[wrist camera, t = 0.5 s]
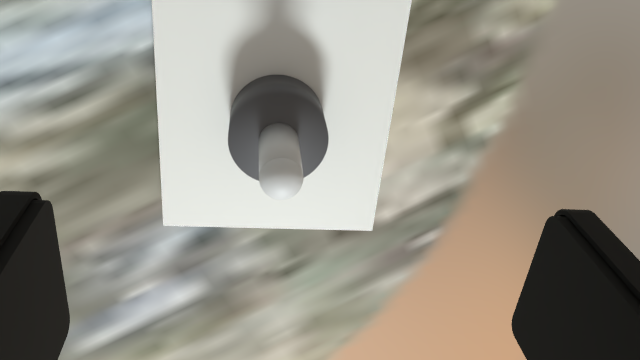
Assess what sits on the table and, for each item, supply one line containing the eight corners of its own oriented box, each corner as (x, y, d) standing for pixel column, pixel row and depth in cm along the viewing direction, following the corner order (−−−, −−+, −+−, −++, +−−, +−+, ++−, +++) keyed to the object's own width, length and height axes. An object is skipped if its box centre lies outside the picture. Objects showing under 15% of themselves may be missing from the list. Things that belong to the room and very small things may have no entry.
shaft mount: (154, -35, 30) (115, 7, 22) (406, -15, 32) (459, 32, 24) (166, 212, 38) (141, 313, 30) (368, 218, 40) (397, 314, 32)
